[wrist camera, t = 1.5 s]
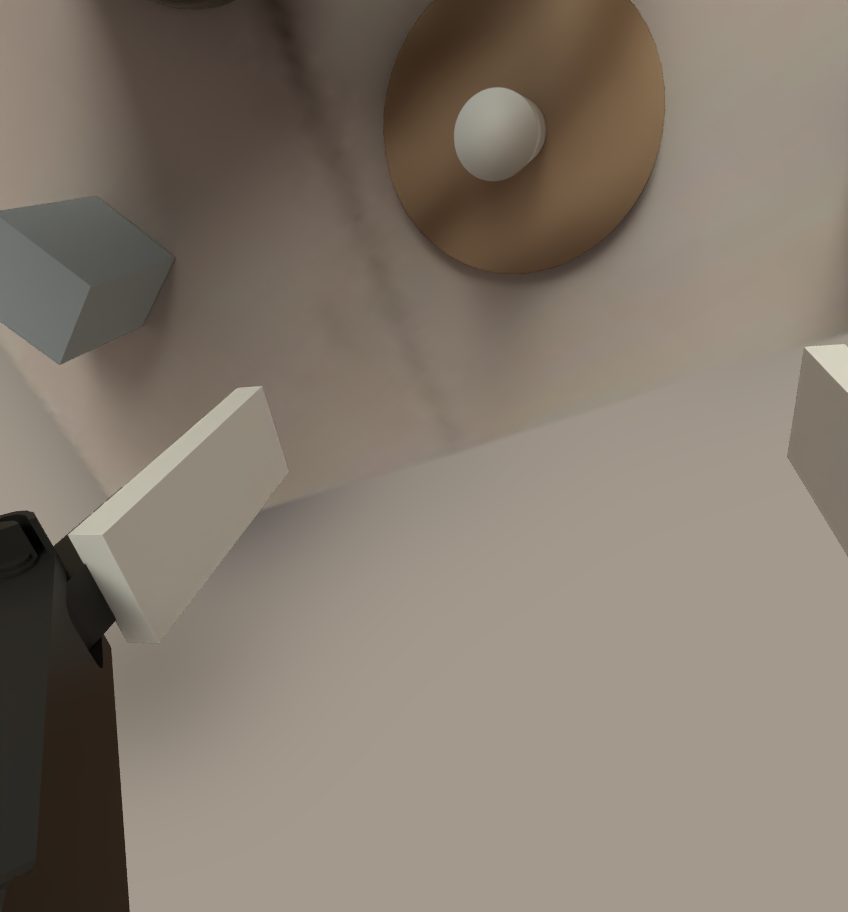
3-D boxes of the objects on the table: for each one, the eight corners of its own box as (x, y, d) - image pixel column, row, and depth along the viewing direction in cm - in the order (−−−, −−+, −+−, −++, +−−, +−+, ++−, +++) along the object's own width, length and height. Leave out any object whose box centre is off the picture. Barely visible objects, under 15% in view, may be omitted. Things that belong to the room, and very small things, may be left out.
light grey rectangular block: (69, 269, 41) (-31, 299, 34) (96, 196, 38) (-8, 211, 31) (142, 325, 42) (59, 364, 35) (175, 257, 39) (90, 286, 32)
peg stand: (344, 158, 34) (250, 172, 24) (506, -116, 27) (467, -253, 17) (529, 317, 36) (512, 389, 26) (725, 100, 29) (802, 89, 19)
